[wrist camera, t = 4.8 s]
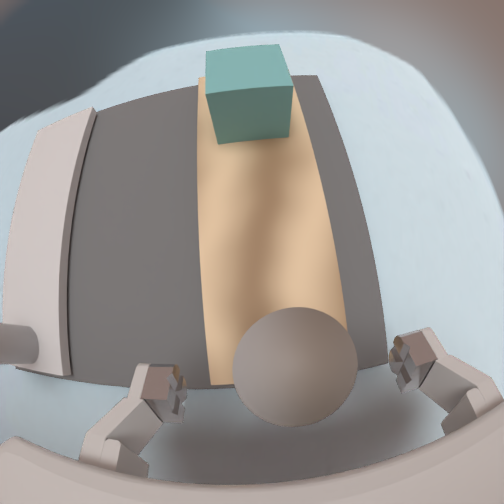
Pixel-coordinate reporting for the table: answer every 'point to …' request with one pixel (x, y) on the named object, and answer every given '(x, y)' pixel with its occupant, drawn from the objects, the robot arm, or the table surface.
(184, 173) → the lane mat
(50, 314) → the pale board with post
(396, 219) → the table surface
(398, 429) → the table surface
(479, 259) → the table surface
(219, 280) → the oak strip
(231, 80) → the teal block
